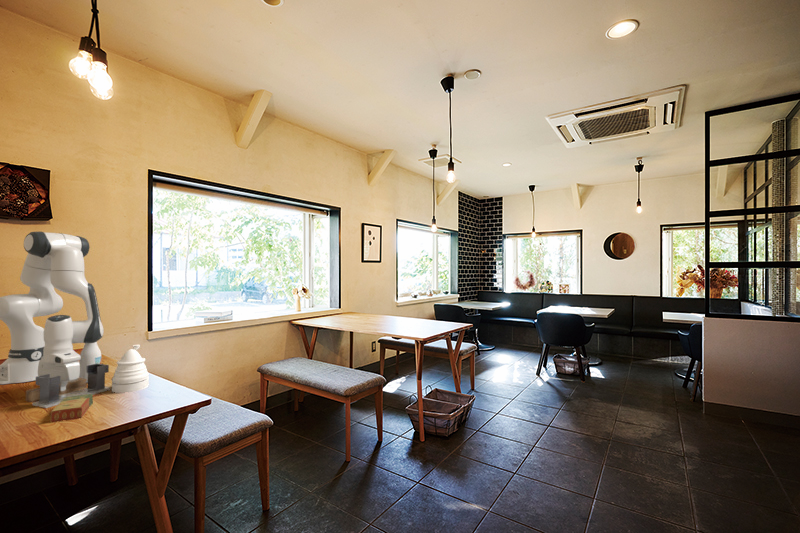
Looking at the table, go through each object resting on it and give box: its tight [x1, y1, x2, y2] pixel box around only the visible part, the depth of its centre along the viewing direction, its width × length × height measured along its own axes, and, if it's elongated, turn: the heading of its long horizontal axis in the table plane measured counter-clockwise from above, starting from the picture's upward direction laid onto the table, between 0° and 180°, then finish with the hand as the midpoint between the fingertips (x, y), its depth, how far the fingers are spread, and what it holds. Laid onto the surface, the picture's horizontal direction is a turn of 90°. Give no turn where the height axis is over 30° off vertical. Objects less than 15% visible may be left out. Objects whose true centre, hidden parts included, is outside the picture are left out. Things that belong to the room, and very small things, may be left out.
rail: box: [25, 378, 87, 403], centre depth 149 cm, size 4×18×4 cm, turn 159°
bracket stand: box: [31, 363, 111, 409], centre depth 146 cm, size 8×22×10 cm, turn 161°
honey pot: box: [111, 344, 150, 394], centre depth 158 cm, size 13×13×18 cm
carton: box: [50, 394, 94, 423], centre depth 131 cm, size 8×16×4 cm, turn 30°
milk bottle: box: [79, 341, 102, 384], centre depth 167 cm, size 8×8×20 cm
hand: (57, 389), depth 149 cm, fingers closed on rail, 4 cm apart
